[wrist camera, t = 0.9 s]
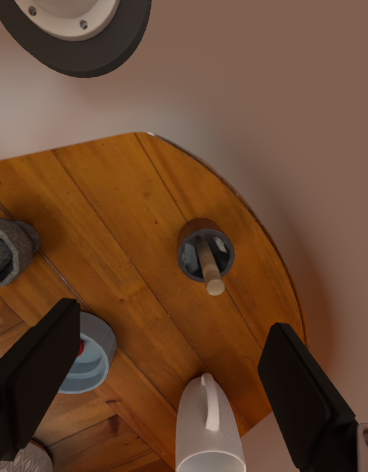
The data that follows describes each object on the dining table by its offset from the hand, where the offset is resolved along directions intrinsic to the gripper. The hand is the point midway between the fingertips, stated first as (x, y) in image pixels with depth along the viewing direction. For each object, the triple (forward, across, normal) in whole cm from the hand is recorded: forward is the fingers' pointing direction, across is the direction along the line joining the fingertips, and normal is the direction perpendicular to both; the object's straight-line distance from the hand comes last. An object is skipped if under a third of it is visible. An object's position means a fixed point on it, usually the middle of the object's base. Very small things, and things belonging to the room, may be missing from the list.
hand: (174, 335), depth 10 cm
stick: (+23, -4, +2) cm, 24 cm away
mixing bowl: (+24, +16, +26) cm, 38 cm away
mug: (+24, -10, +34) cm, 43 cm away
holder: (+24, -4, +2) cm, 24 cm away
